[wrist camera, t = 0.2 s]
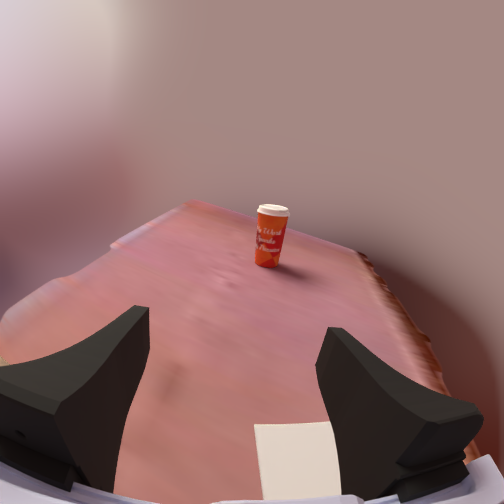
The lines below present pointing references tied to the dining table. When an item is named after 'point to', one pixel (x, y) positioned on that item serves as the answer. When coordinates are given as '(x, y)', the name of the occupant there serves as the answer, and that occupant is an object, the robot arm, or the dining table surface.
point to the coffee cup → (270, 234)
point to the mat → (297, 460)
